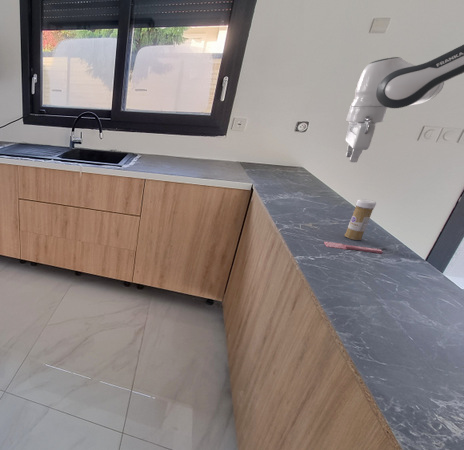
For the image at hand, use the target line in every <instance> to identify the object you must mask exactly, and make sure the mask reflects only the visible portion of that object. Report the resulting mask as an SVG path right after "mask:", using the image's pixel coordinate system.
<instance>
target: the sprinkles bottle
mask: <svg viewBox="0 0 464 450" xmlns="http://www.w3.org/2000/svg"><path fill="white" fill-rule="evenodd" d="M376 206H377V202H376V201H374V200H371V199H367V198H361V199H360V198H359V199H357V200H356V203H355V207H354V210H353V212H352V215H351V218H350V220H349V222H348V224H347V225H348V226H347V229H346V232H345V233H344V237H345V238H347V239H348V240H354V241H360V240H362V239H363V236H364V233H365V231H366V228H367V226H368V224H369V221H370V219H371V216H372V214H373V211H374V209H375V207H376Z"/></svg>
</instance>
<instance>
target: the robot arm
mask: <svg viewBox="0 0 464 450" xmlns="http://www.w3.org/2000/svg"><path fill="white" fill-rule="evenodd" d="M462 74H464V44H462V45H460V46H458V47H455V48H454V49H451V50H450V51H447V52H445V53H442V54H441V55H440V56H438V57H436V58H433V59H431V60H429V61H427V62H423V63H421V64H420V63H419V64H417V65H416V64H413V63H411V62H408V61H406V60H404V59H403V58H402V57H400V56H399V57H398V56H393V57H385V58H381V59H378V60H374V61H372V62H369V63H368V64H367V65H366V66H365V67H364V68H363V70H362V72H361V74H360V77H359V79H358V81H357V84H356V88H355V90H354V98H353V100H352V101H351V104H350V106H349V110H348V111H347V116H346V119H345V121H346V122H348V124H347V129H346V133H345V142H346V143H347V150H346V153H345V156H346V158H349V162H350V163H358V160H359V159H360V157H361V155H362V153H363V151H367V150H368V149H369V148H370V146H371V144H372V140H373V136H374V134H375V130H376V126H377V123H382V122H384V119H385V117H386V114H387V111H388V109H402V108H405V107H408V106H414V105H420V104H424V103H426V102H428V101H430V100H432V99H434V98H436V97H437V95H439V93H440V92H441V91H442V89H443V87H444V86H445V82H447V81H449V80H451V79H453V78H455V77H458V76H461V75H462Z"/></svg>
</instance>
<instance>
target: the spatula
mask: <svg viewBox="0 0 464 450" xmlns="http://www.w3.org/2000/svg"><path fill="white" fill-rule="evenodd" d="M323 244H324V245H325V247H326V248H331V249H339V250H345V251H347V250H351V251H360V252H367V253H373V254H381V255H382V254H383V250H382V249H380V248H374V247H366V246H358V245H351V244H344V243H340V242H333V241H323Z"/></svg>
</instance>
